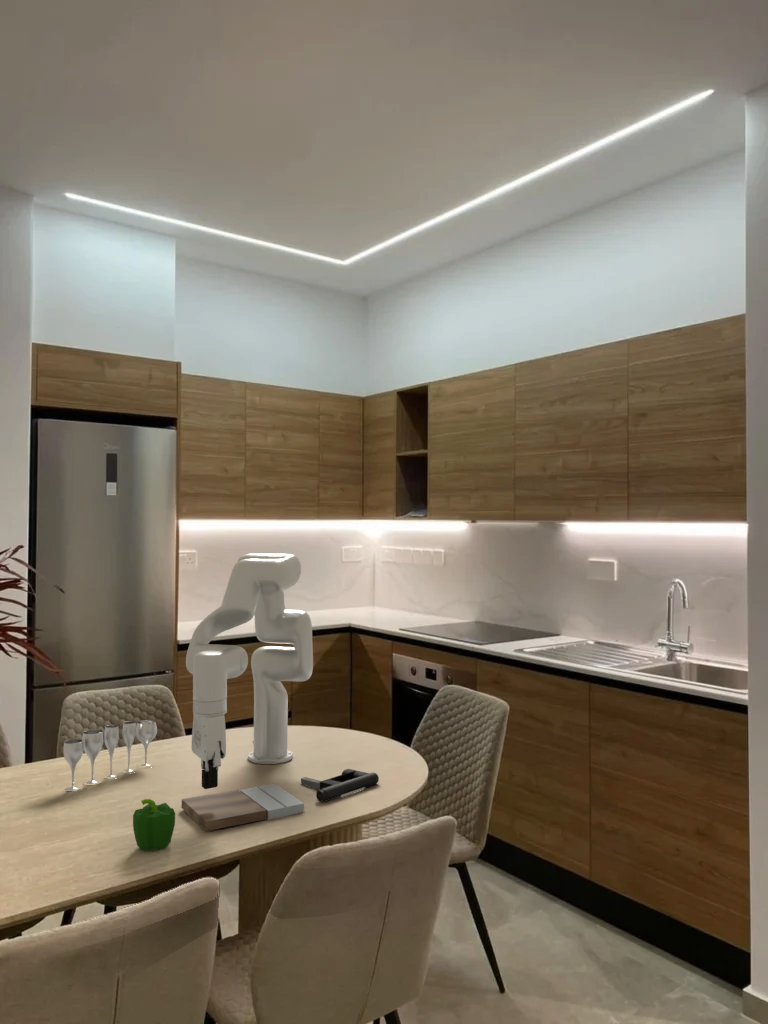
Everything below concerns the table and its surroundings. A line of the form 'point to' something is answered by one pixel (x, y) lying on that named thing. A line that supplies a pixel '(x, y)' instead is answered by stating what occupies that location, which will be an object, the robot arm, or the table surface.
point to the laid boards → (274, 801)
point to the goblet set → (107, 744)
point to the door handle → (341, 784)
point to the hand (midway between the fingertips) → (209, 786)
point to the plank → (223, 809)
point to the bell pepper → (153, 825)
